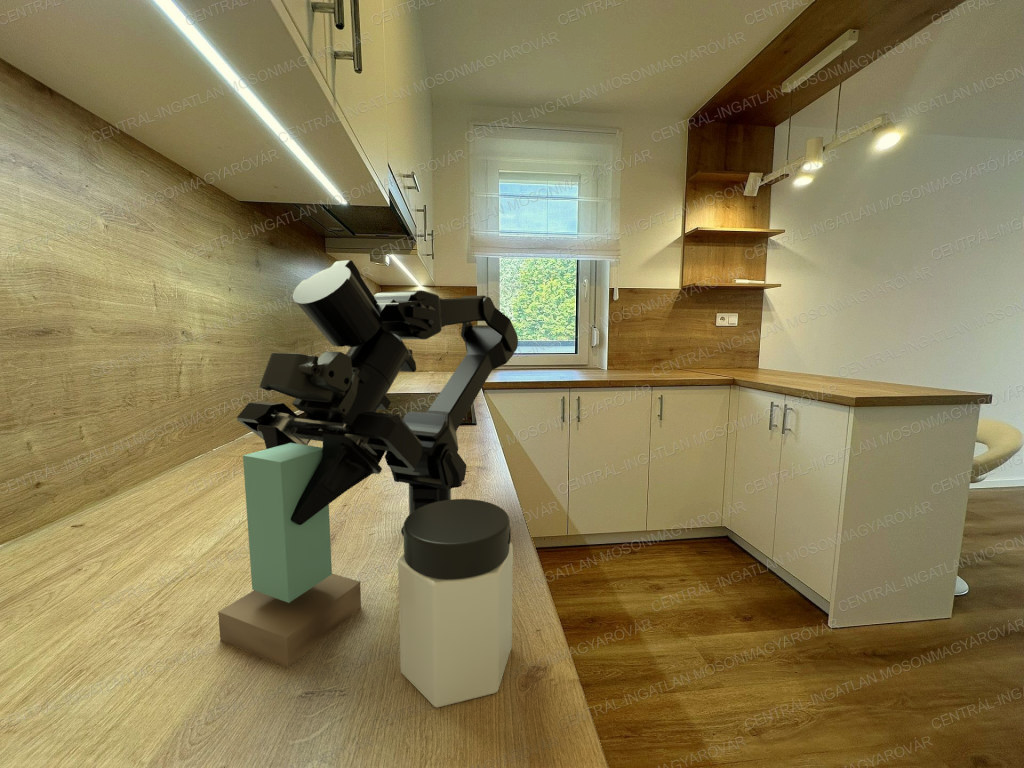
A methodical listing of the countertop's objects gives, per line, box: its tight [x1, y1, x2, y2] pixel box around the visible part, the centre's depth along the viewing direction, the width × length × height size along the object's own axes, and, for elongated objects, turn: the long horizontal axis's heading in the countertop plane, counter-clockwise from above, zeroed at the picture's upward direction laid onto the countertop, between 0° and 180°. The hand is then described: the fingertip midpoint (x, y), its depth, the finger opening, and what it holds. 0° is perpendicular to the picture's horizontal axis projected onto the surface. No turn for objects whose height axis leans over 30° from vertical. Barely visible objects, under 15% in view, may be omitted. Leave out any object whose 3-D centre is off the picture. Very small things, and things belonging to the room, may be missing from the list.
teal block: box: [242, 443, 333, 603], centre depth 36 cm, size 4×4×12 cm
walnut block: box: [217, 573, 362, 670], centre depth 37 cm, size 8×8×3 cm
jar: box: [397, 498, 514, 708], centre depth 32 cm, size 9×8×12 cm
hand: (275, 517), depth 35 cm, fingers closed on teal block, 4 cm apart
